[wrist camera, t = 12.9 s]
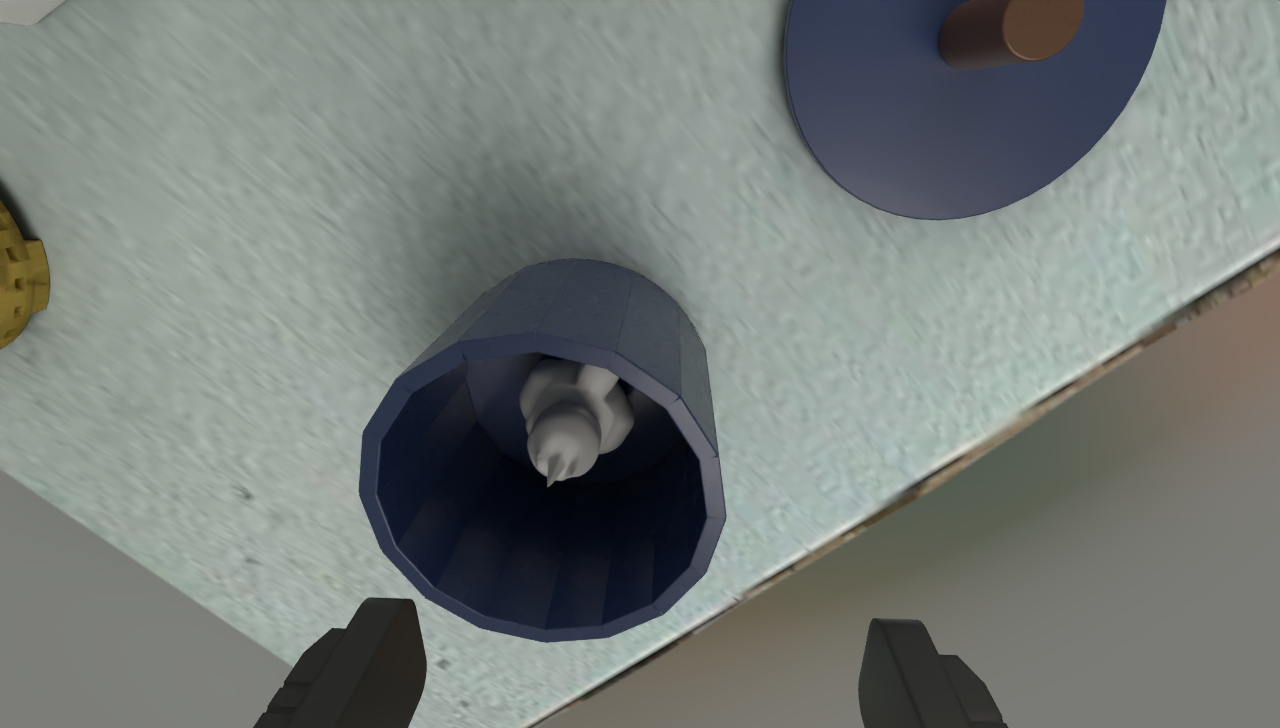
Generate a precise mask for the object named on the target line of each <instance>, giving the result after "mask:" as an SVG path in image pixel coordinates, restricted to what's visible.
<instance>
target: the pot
mask: <svg viewBox="0 0 1280 728" xmlns="http://www.w3.org/2000/svg"><path fill="white" fill-rule="evenodd" d="M545 359H555V360H563V359H567V360H571V361H575V362H579V363H583V364H588V365H592V366H596V367H600V368H604V369H608V370H609V371H610V372H612V373H613V374H615V375H616V376H618V377H619V379H618V381H617V382H618V383H619V384H620V386H621V387H622V389H623V390H624V393H625V395H626V396H627V398H628V399H629V400H630V401H631V403H632V405H633V408H634V424H633V427H632V428H631V430H630V431H629V433H628V435H627V436H626V438H625V439H624V441H623V442H622V444H621V445H620V446H619V447H617V448H616V449H614V450H612V451H610V452H608V453H604V454H598V457H597V459H596V461H595V463H594V465H593V466H592V467H591V468H590V469H589V470H588V471H587V472H586V473H585V474H583V475H581V476H578V477H571V478H567V479H565V480H563V481H557V480H555V481H554V482H553V483H552V484H551V485H550V486H549V487H548V486H547V476H545V475H543V474H542V473H540V472H539V471H538V470H537V469H536V468H535V466H534V465H533V463H532V461H531V458H530V455H529V452H528V448H527V441H528V437H529V435H528V433H527V430H526V419H525V417H524V416H523V414H522V411H521V407H520V401H519V396H520V391H521V388H522V386H523V385H524V383H525V381H526V379H527V377H528V375H529V373H530V372H531V370H532V369H533V368H534V367H535V366H536V365H537V364H538V363H539V362H540V361H542V360H545ZM359 493H360V494H359V496H360V499H361V501H362V504H363V506H364V509H365V511H366V514H367V516H368V519H369V521H370V524H371V526H372V529H373V531H374V534H375V536H376V539H377V541H378V544H379V546H380V549H381V550H382V552H383V553H384V554H385V555H386V556H387V557H388V559H389V560H390V561H391V562H392V563H393V564H394V565H395V566H396V567H397V568H398V569H399V570H400V571H401V572H402V574H403V575H404V576H405V577H406V578H407V579H408V580H409V581H410V582H411V583H412V584H413V585H414V586H415V588H416V589H417V590H418V591H419V592H420V593H421V594H422V595H423V596H425V598H426V599H428V600H430V601H432V602H434V603H435V604H437V605H439V606H441V607H443V608H444V609H446V610H448V611H450V612H452V613H453V614H455V615H457V616H459V617H461V618H462V619H464V620H466V621H468V622H470V623H471V624H473V625H475V626H477V627H479V628H482V629H485V630H490V631H494V632H499V633H503V634H508V635H512V636H517V637H521V638H526V639H530V640H535V641H539V642H545V643H547V642H560V641H574V640H587V639H601V638H607V637H608V638H609V637H611V636H614V635H616V634H619V633H621V632H623V631H626V630H628V629H631V628H633V627H635V626H638V625H640V624H643V623H645V622H647V621H650V620H652V619H654V618H657V617H659V616H662V615H663V614H665V613H666V612H667V611H668V610H669V609H670V608H671V607H672V606H673V605H674V604H675V603H676V602H677V601H678V600H679V599H680V598H681V597H682V596H683V595H684V594H685V593H686V592H687V591H689V590H690V589H691V588H692V587H693V586H694V585H695V584H696V583H697V582H698V581H699V580H700V579H701V578H702V577H703V576H704V575H705V573H706V572H707V570H708V567H709V564H710V561H711V559H712V556H713V553H714V551H715V548H716V545H717V542H718V540H719V537H720V534H721V532H722V529H723V526H724V524H725V521H726V509H725V501H724V492H723V484H722V476H721V468H720V460H719V452H718V444H717V436H716V428H715V421H714V413H713V405H712V397H711V389H710V382H709V374H708V366H707V358H706V350H705V348H704V345H703V344H702V342H701V340H700V338H699V336H698V334H697V332H696V330H695V328H694V326H693V324H692V323H691V321H690V320H689V318H688V317H687V315H686V314H685V313H684V311H683V310H682V309H681V307H680V306H679V305H678V303H676V302H675V301H674V300H673V299H672V298H671V297H670V296H669V295H668V294H667V293H666V292H664V291H663V290H662V289H661V288H660V287H658V286H657V285H656V284H654V283H652V282H651V281H649V280H648V279H646V278H645V277H643V276H641V275H639V274H637V273H635V272H633V271H630V270H628V269H626V268H623V267H620V266H617V265H614V264H611V263H607V262H601V261H596V260H589V259H563V260H553V261H549V262H544V263H539V264H536V265H533V266H527V267H525V268H523V269H522V270H520V271H519V272H517V273H515V274H513V275H511V276H509V277H507V278H506V279H505V280H503V281H502V282H500V283H499V284H498V285H496V286H494V287H493V288H491V289H490V290H488V291H486V292H485V293H484V294H483V295H481V296H480V297H479V298H478V299H477V300H476V301H475V302H474V303H473V304H472V305H471V306H470V307H469V308H468V309H467V310H466V311H465V312H464V313H463V314H462V315H461V316H460V317H459V318H458V319H457V320H456V321H455V322H454V323H453V324H452V325H451V326H450V327H449V328H448V329H447V330H446V331H445V332H444V333H443V334H441V335H440V336H439V337H438V338H437V339H436V340H435V341H434V342H433V343H432V344H431V345H430V346H429V347H428V348H427V349H426V350H425V351H424V352H423V353H422V354H421V355H420V356H419V357H418V358H417V359H416V360H415V361H414V362H413V363H412V364H411V365H410V366H409V367H408V368H407V369H406V370H405V371H404V372H403V373H401V374H400V375H399V376H398V377H397V378H396V379H395V381H394V383H393V384H392V386H391V387H390V389H389V391H388V392H387V394H386V395H385V397H384V399H383V400H382V402H381V403H380V405H379V407H378V408H377V410H376V411H375V413H374V415H373V416H372V418H371V419H370V421H369V423H368V424H367V426H366V428H365V429H364V431H363V435H362V450H361V465H360V480H359Z"/></svg>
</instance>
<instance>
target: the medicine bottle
mask: <svg viewBox="0 0 1280 728" xmlns="http://www.w3.org/2000/svg"><path fill="white" fill-rule="evenodd" d="M64 1H66V0H0V22H3V23H11V24H19V25H27V26H30V25H34V24H36V23H38V22H39V21H40V20H41V19H43V18H44V17H45V16H47V15H48V14H49V13H50V12H52V11H53V10H54V9H55V8H57V7H58V6H59V5H61V4H62V3H63V2H64Z"/></svg>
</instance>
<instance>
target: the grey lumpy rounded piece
mask: <svg viewBox="0 0 1280 728" xmlns="http://www.w3.org/2000/svg"><path fill="white" fill-rule="evenodd" d="M618 379H619V377H618V376H616V375H615V374H613V373H612V372H610V371H609V370H608V369H604V368H600V367H596V366H592V365H588V364H583V363H579V362H575V361H571V360H567V359H563V360H555V359H545V360H542V361H540V362H539V363H538V364H537V365H536V366H535V367H534V368H533V369H532V370H531V372H530V373H529V375H528V377H527V379H526V381H525V383H524V385H523V386H522V388H521V391H520V396H519V401H520V407H521V411H522V414H523V416H524V417H525V419H526V430H527V433H528V435H529V437H528V441H527V448H528V452H529V455H530V458H531V461H532V463H533V465H534V466H535V468H536V469H537V470H538V471H539V472H540V473H542V474H543V475H545V476H547V486H548V487H549V486H550V485H551V484H552V483H553V482H554V481H555V480H557V481H563V480H565V479H567V478H571V477H578V476H581V475H583V474H585V473H586V472H587V471H588V470H589V469H590V468H591V467H592V466H593V465H594V463H595V461H596V459H597V457H598V454H604V453H608V452H610V451H612V450H614V449H616V448H617V447H619V446H620V445H621V444H622V442H623V441H624V439H625V438H626V436H627V435H628V433H629V431H630V430H631V428H632V427H633V424H634V408H633V405H632V403H631V401H630V400H629V399H628V398H627V396H626V395H625V393H624V390H623V389H622V387H621V386H620V384H619V383H618V382H617V381H618Z"/></svg>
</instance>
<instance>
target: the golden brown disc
mask: <svg viewBox="0 0 1280 728" xmlns="http://www.w3.org/2000/svg"><path fill="white" fill-rule="evenodd" d="M49 288H50V281H49V269H48V264H47V259H46V255H45V252H44V249H43V246H42V242H41V241H32V240H23V237H22V235H21V233H20V231H19V229H18V227H17V225H16V223H15V221H14V220H13V218H12V216H11V215H10V213H9V211H8V210H7V208H6V207H5V205H4V204H3V203H2V201H1V200H0V349H1V348H4V347H5V346H7V345H8V344H10V343H11V342H13V341H14V340H15V339H16V338H17V337H18V336H19V335H20V334H21V332H22V331H23V329H24V328H25V326H26V325H27V323H28V320H29V318H30V316H31V313H34V312H38V311H41V310H44V309H46V307H47V303H48V298H49Z"/></svg>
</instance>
